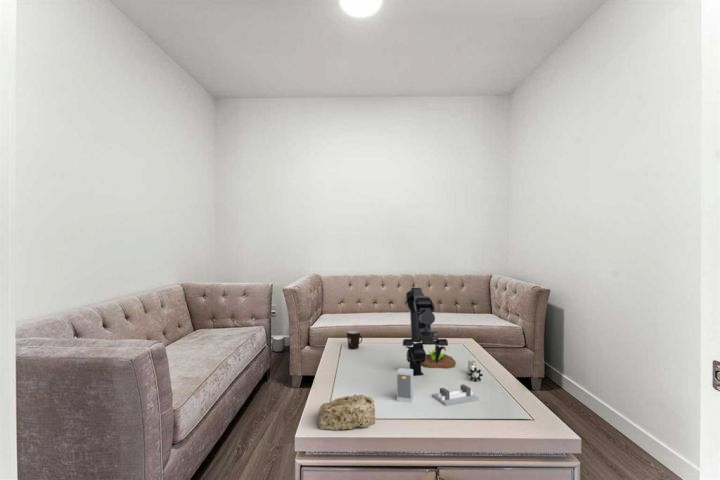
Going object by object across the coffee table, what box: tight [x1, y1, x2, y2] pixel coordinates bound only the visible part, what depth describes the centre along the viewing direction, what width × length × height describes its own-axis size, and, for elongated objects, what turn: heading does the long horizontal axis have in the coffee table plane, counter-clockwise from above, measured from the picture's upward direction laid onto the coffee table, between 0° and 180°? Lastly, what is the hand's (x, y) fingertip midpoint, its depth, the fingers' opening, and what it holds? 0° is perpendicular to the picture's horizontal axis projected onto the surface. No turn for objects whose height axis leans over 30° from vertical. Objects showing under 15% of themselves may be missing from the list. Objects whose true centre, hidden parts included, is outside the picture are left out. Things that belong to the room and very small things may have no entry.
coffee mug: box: [346, 330, 363, 350], centre depth 228 cm, size 12×9×10 cm
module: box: [396, 367, 414, 404], centre depth 151 cm, size 6×6×12 cm
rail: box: [431, 384, 480, 407], centre depth 152 cm, size 16×10×4 cm, turn 111°
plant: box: [421, 345, 457, 369], centre depth 200 cm, size 20×20×11 cm
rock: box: [318, 393, 376, 431], centre depth 132 cm, size 21×14×10 cm
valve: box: [467, 360, 484, 383], centre depth 177 cm, size 7×7×12 cm
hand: (425, 363), depth 156 cm, fingers open, 9 cm apart
